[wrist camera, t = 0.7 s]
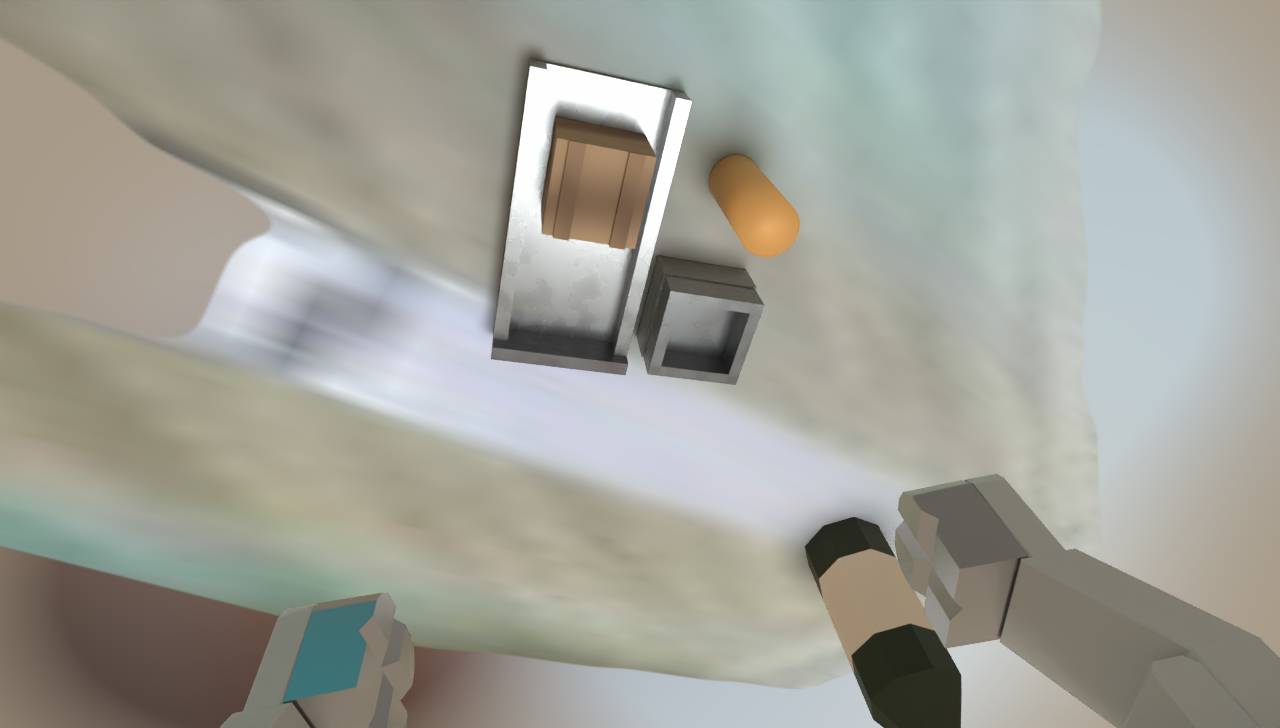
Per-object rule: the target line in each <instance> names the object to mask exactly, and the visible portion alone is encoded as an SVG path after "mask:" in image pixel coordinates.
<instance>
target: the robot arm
mask: <svg viewBox="0 0 1280 728" xmlns="http://www.w3.org/2000/svg"><path fill="white" fill-rule="evenodd" d="M898 511H899V512H900V514H901V516H902V517H903V519H904V521H903V522H902V523H901V524H900V526H899V527H898V528H897V529H896V536H895V547H896V552H897V557H898V562H899V564H900V567H901V570H902V572H903V575H904V576H905V578H906V580H907V582H908V584H909V586H910V588H912V589H914V590H915V591H917V592H918V593H920V594H922V595H923V596H925V597H926V601H925V608H924V612H925V614H926V616H927V618H928V619H929V621H930V623H931V625H932V626H933V628H934V630H935V632H936V633H937V635H938V637H939V639H940V640H941V642H942V644H943V646H944V647H945V648H950V647H956V646H962V645H968V644H974V643H980V642H985V641H991V640H997V639H1000V643H1002V644H1003V645H1005V646H1006V647H1007V648H1009V649H1010V650H1011V651H1013V652H1014V653H1015V654H1017V655H1018V656H1020V657H1021V658H1022V659H1024V660H1025V661H1027V662H1028V663H1029V664H1030V665H1032V666H1033V667H1035V668H1036V669H1037V670H1039V671H1040V672H1042V673H1043V674H1044V675H1045V676H1047V677H1048V678H1050V679H1051V680H1052V681H1054V682H1055V683H1056V684H1058V685H1059V686H1060V687H1062V688H1063V689H1064V690H1066V691H1068V692H1069V693H1070V694H1071V695H1073V696H1074V697H1075V698H1077V699H1078V700H1079V701H1081V702H1082V703H1084V704H1085V705H1087V706H1088V707H1089V708H1090V709H1092V710H1093V711H1094V712H1096V713H1097V714H1099V715H1100V716H1101V717H1103V718H1104V719H1105V720H1107V721H1108V722H1109V723H1111V724H1112V725H1114V726H1115V727H1116V728H1280V658H1279V657H1278V656H1277V655H1276V654H1275V653H1274V652H1273V651H1272V650H1271V649H1270V648H1269V647H1268V646H1267V645H1266V644H1265V643H1264V642H1263V641H1262V640H1261V639H1260V638H1259V637H1257V636H1255V635H1253V634H1251V633H1249V632H1247V631H1245V630H1242V629H1240V628H1238V627H1236V626H1234V625H1232V624H1230V623H1228V622H1226V621H1224V620H1222V619H1220V618H1218V617H1216V616H1214V615H1211V614H1209V613H1207V612H1205V611H1203V610H1201V609H1199V608H1197V607H1195V606H1193V605H1191V604H1189V603H1187V602H1184V601H1182V600H1180V599H1178V598H1176V597H1174V596H1172V595H1170V594H1168V593H1166V592H1164V591H1162V590H1160V589H1158V588H1156V587H1153V586H1151V585H1149V584H1147V583H1145V582H1143V581H1141V580H1139V579H1137V578H1135V577H1133V576H1131V575H1129V574H1127V573H1124V572H1123V571H1120V570H1118V569H1116V568H1114V567H1112V566H1110V565H1108V564H1106V563H1104V562H1102V561H1100V560H1098V559H1096V558H1094V557H1091V556H1089V555H1087V554H1085V553H1083V552H1081V551H1079V550H1077V549H1071V550H1065V549H1064V548H1063V546H1062V545H1061V544H1060V543H1059V542H1058V541H1057V539H1056V538H1055V537H1054V536H1053V535H1052V534H1051V532H1050V531H1049V530H1048V529H1047V528H1046V527H1045V525H1044V524H1043V523H1042V522H1041V521H1040V520H1039V518H1038V517H1037V516H1036V515H1035V514H1034V513H1033V511H1032V510H1031V509H1030V508H1029V507H1028V506H1027V504H1026V503H1025V502H1024V501H1023V500H1022V499H1021V497H1020V496H1019V495H1018V494H1017V493H1016V491H1015V490H1014V489H1013V488H1012V487H1011V486H1010V484H1009V483H1008V482H1007V481H1006V480H1005V479H1004V478H1003V477H1002V476H1000V475H998V474H993V475H988V476H983V477H978V478H973V479H967V480H964V481H956V482H951V483H946V484H941V485H936V486H931V487H926V488H921V489H916V490H912V491H907V492H903V493H902V495H901V497H900V498H899V506H898ZM395 609H396V606H395V604H394V602H393V600H392V599H391V597H390V595H389V593H378V594H372V595H366V596H359V597H353V598H347V599H341V600H335V601H329V602H323V603H318V604H314V605H308V606H302V607H296V608H290V609H286V610H285V611H284V612H283V613H282V614H281V615H280V617H279V618H278V620H277V622H276V624H275V627H274V630H273V633H272V635H271V638H270V641H269V643H268V646H267V649H266V651H265V654H264V657H263V659H262V662H261V665H260V668H259V670H258V673H257V676H256V678H255V681H254V684H253V687H252V689H251V692H250V695H249V697H248V700H247V703H246V705H245V708H244V711H243V712H238V713H234V714H232V715H231V716H230V717H229V718H228V719H227V720H226V722H225V723H224V724H223V725H222V726H221V727H220V728H405V726H406V720H407V712H406V710H405V708H404V706H403V705H402V703H401V701H400V700H401V699H402V698H403V697H404V695H405V694H406V693H407V691H408V690H409V689H410V688H411V686H412V682H413V675H414V647H413V643H412V640H411V636H410V633H409V631H408V629H407V627H406V625H405V624H403V623H401V622H399V621H397V620H395V619H394V614H395Z"/></svg>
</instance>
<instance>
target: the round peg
mask: <svg viewBox="0 0 1280 728" xmlns="http://www.w3.org/2000/svg"><path fill="white" fill-rule="evenodd" d="M709 188H710V191H711V193H712V195H713V197H714V198H715V200H716V202H717V203H718V205H719V206H720V208H721V210H722V211H723V213H724V214H725V216H726V218H727V219H728V221H729V223H730V224H731V226H732V227H733V229H734V231H735V232H736V234H737V235H738V237H739V239H740V240H741V242H742V243H743V245H744V247H745V248H746V249H747V250H748V251H749V252H750V253H752V254H753V255H756V256H759V257H772V256H776V255H778V254H780V253H782V252H784V251H785V250H787V249H788V248H789V247H790V246H791V245H792V244H793V242H794V241H795V239H796V237H797V235H798V232H799V227H800V222H799V217H798V214H797V212H796V211H795V209H794V208H793V207H792V206H791V205H790V203H789V202H788V201H787V200H786V199H785V198H784V197H783V195H782V194H781V193H780V192H779V191H778V190H777V188H776V187H775V186H774V185H773V184H772V183H771V181H770V180H769V179H768V178H767V177H766V176H765V175H764V173H763V172H762V171H761V170H760V169H759V168H758V166H757V165H756V164H755V163H754V162H753V161H752V160H751V159H750V158H748V157H746V156H743V155H730V156H727V157H725V158H723V159H722V160H720V161H719V162H718V163H717V164H716V165H715V166H714V168H713V169H712V171H711V174H710V177H709Z"/></svg>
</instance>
